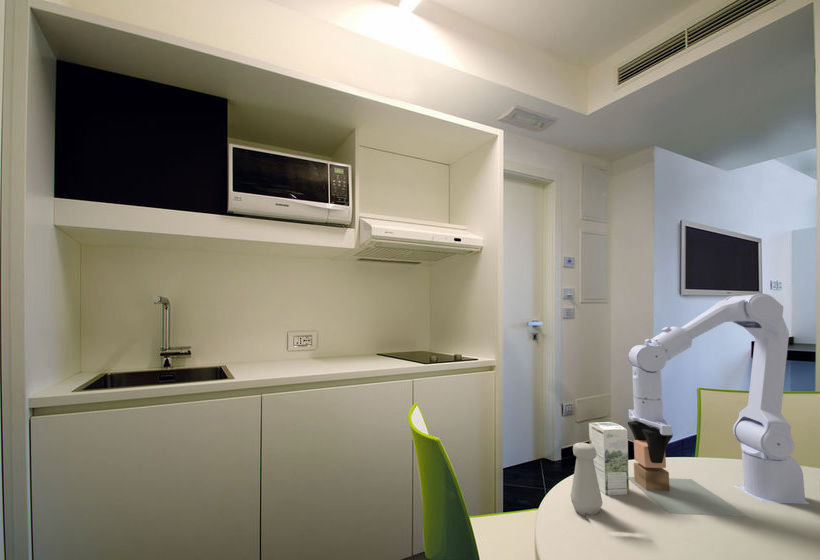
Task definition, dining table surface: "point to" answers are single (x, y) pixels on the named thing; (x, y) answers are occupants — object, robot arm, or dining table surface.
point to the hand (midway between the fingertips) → (650, 458)
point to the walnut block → (651, 478)
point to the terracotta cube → (645, 455)
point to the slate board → (690, 499)
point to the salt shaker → (585, 481)
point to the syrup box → (610, 457)
